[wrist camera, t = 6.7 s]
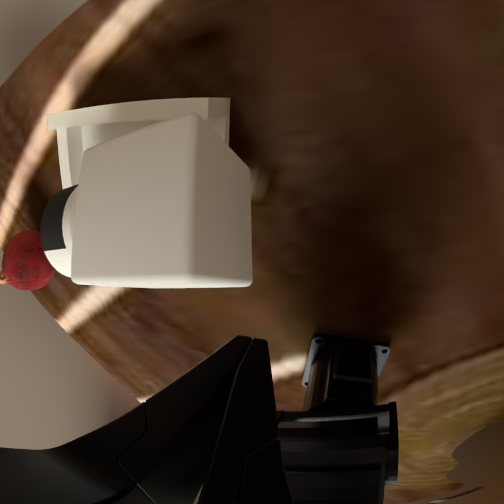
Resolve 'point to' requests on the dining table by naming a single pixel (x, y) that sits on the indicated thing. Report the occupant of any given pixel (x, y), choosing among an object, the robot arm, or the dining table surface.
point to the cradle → (125, 125)
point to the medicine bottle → (155, 212)
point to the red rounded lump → (26, 262)
